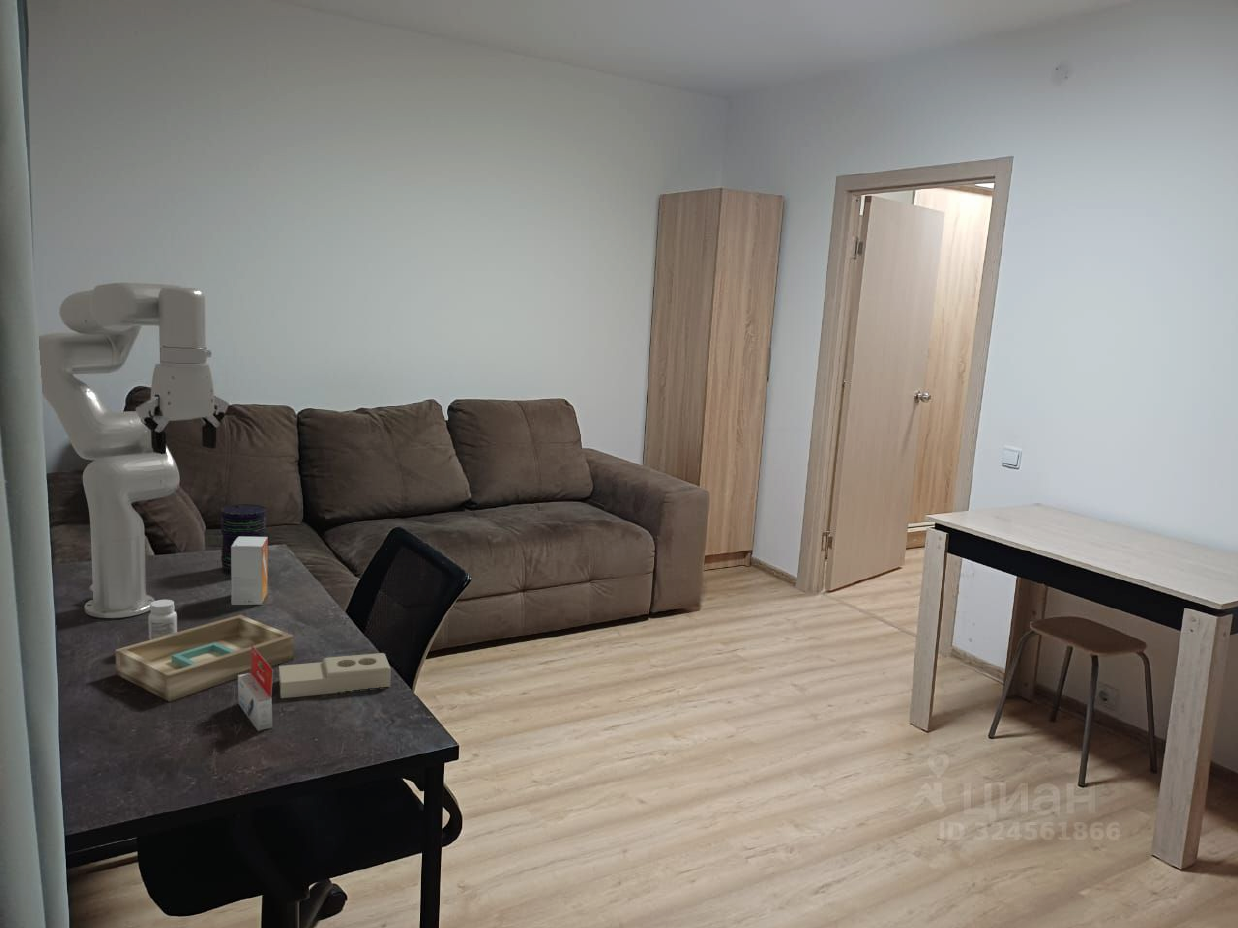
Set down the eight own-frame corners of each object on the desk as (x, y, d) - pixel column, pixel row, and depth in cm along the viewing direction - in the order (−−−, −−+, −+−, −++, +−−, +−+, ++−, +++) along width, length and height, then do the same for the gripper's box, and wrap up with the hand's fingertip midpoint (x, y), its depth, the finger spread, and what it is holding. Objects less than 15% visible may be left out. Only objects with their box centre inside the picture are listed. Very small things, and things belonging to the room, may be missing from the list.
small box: (262, 605, 195) (262, 546, 193) (230, 605, 194) (230, 546, 192) (268, 593, 203) (268, 536, 201) (237, 593, 202) (237, 535, 199)
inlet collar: (171, 661, 162) (171, 655, 162) (215, 648, 169) (215, 641, 169) (199, 674, 158) (199, 668, 158) (243, 660, 165) (243, 654, 165)
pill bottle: (155, 640, 173) (154, 598, 172) (181, 641, 174) (180, 599, 172) (144, 650, 169) (143, 606, 167) (171, 651, 169) (170, 607, 168)
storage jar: (274, 571, 218) (274, 510, 215) (235, 579, 210) (235, 516, 208) (251, 561, 224) (251, 502, 221) (213, 569, 216) (212, 507, 214)
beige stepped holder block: (279, 660, 159) (384, 651, 166) (279, 682, 160) (384, 673, 167) (281, 677, 153) (390, 667, 160) (280, 700, 154) (390, 689, 161)
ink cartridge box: (257, 731, 142) (257, 672, 140) (237, 704, 151) (236, 647, 149) (273, 728, 144) (273, 669, 142) (252, 700, 152) (252, 645, 150)
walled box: (116, 674, 158) (115, 649, 157) (240, 636, 178) (240, 614, 177) (169, 701, 150) (168, 675, 149) (293, 658, 169) (293, 635, 169)
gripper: (214, 354, 175) (215, 442, 178) (123, 355, 160) (126, 452, 163) (238, 358, 171) (239, 448, 174) (148, 359, 156) (150, 458, 159)
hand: (184, 450), depth 169 cm, fingers open, 9 cm apart
